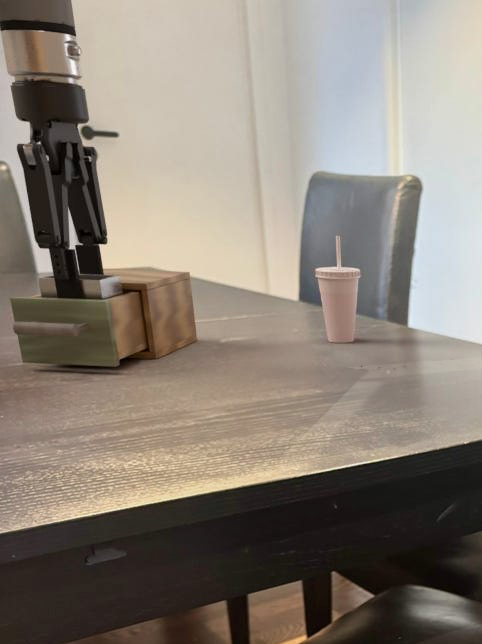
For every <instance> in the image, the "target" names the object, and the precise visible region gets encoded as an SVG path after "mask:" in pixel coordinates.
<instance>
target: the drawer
mask: <svg viewBox="0 0 482 644" xmlns="http://www.w3.org/2000/svg"><path fill="white" fill-rule="evenodd" d="M122 292H123V295H120V296H116V297H113V298H109V299H105V300H93V299H68V298H42V297H41V293H40V294H35V295H31V296H17V295H15V296H11V297H9V300H10V301H9V302H10V306H11V310H12V315H13V320H14V322H13V324H12V330H13V332H14V334H15V335H17V341H18V346H19V350H20V356H21V360H22V363H23V364H25V363H26V364H43V365H63V366H65V365H66V366H67V365H68V366H87V367H89V366H90V367H111V368H112V367H114V368H115V367H118V366H120V365H121V364H120V362H121V361H120V360H122V359H125V358H124V357H127V356H129V355H132V354H134V353H136V352H139V351H141V350H143V349H146V348H148V347H149V343H148V336H147V329H146V321H145V314H144V307H143V300H142V292H141V290H128V289H122Z"/></svg>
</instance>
